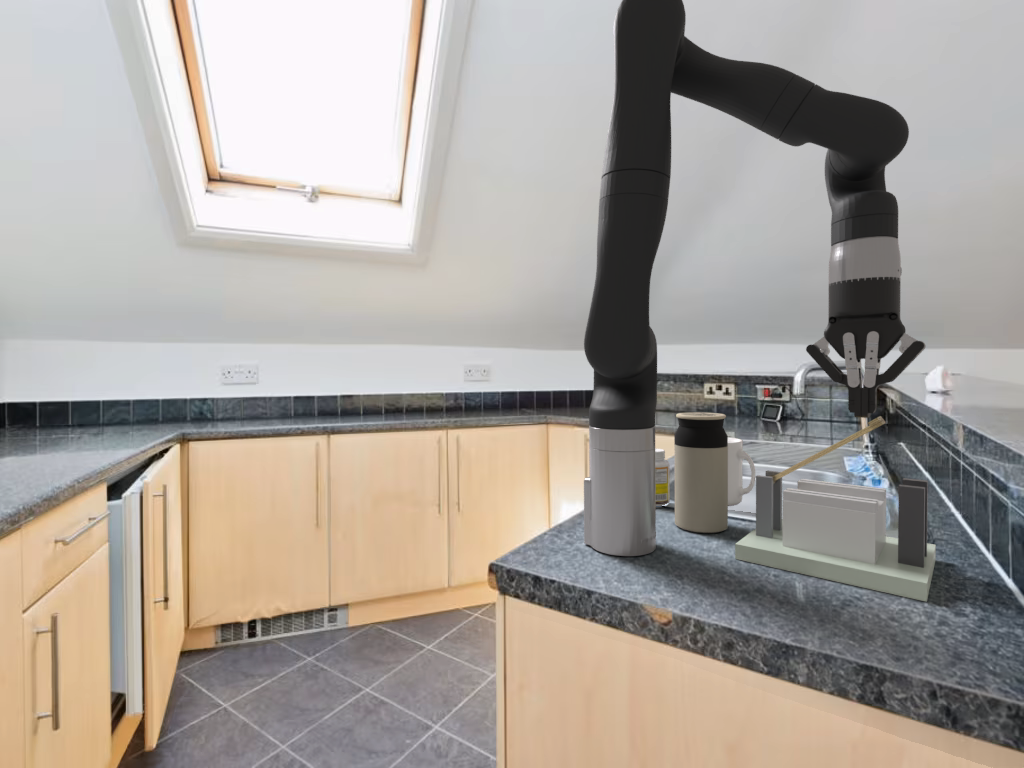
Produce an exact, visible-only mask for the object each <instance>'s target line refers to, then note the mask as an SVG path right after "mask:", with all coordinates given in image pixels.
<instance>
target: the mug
mask: <svg viewBox="0 0 1024 768" xmlns="http://www.w3.org/2000/svg"><path fill="white" fill-rule="evenodd" d="M743 444H744V443H743V440H742V439H741V438H737V437H736V438H735V437H730V436H729V437H728V507H733V506H738V505H739V504H741V503H742V500H743V496H744V495H747V494H749V493H751V491H753V489H754V487H755V485H756V468H755V467H756V465H755V463H754V461H753V459H752V457H751V456H750V455H749V454H748V453H747V452H746V451H745V450H743V446H744V445H743ZM743 460H746V461H747V462H748V464H749V467H750V472H751V473H750V474H751V475H750V476H751V478H750V482H749V484H748V486H746V487H745V488H743V487H744V486H743V478H744V477H743V476H744V475H743Z"/></svg>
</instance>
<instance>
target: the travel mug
mask: <svg viewBox="0 0 1024 768" xmlns="http://www.w3.org/2000/svg"><path fill="white" fill-rule="evenodd" d="M675 415H676V416H675V417H676V418H677V422H678V423H677V424H678V427H677V428H676V431H675V433H674V442H673V443H674V524H675V525H676V526H677V527H678V528H680V529H682V530H684V531H688V532H692V533H697V534H717V533H721V532H723V531H726V530H728V527H729V525H728V524H729V521H728V520H729V519H728V518H729V517H728V515H729V513H728V512H729V510H728V509H729V506H728V434H727V431H726V430H725V428H724V422H725V419H726V418H727V415H726V414H724V413H717V412H696V411H695V412H679V413H677V414H675Z"/></svg>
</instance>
